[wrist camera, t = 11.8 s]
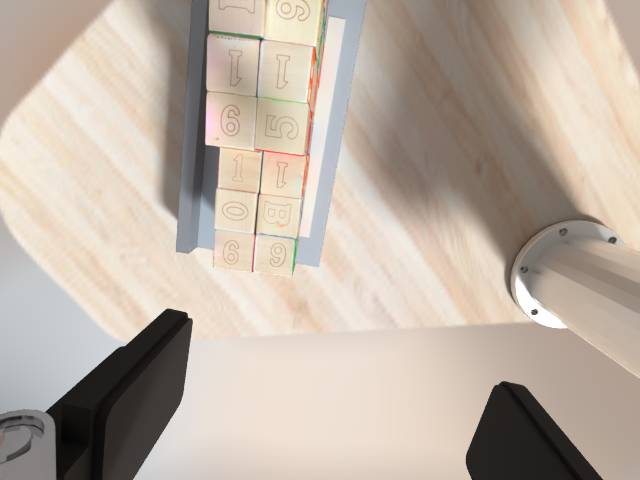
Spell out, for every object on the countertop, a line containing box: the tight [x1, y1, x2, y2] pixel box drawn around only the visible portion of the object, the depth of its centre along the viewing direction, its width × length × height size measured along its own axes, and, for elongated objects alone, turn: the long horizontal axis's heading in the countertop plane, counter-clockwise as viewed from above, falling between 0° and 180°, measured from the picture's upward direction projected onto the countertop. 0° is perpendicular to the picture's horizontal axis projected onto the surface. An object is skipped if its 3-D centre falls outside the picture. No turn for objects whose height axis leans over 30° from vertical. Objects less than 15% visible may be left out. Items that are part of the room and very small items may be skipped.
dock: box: [176, 0, 366, 267], centre depth 32 cm, size 14×26×5 cm, turn 170°
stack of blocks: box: [205, 0, 329, 277], centre depth 26 cm, size 21×6×12 cm, turn 172°
